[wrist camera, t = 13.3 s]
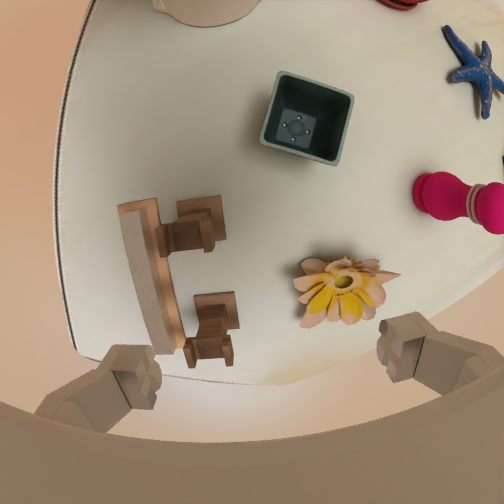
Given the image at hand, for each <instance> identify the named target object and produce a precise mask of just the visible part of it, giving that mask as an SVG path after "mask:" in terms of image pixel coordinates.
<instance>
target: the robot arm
mask: <svg viewBox="0 0 504 504" xmlns="http://www.w3.org/2000/svg"><path fill="white" fill-rule="evenodd" d="M259 1H260V0H153V3H152V6H153V8H154V10H156V11H159V12H164V13H168V14H170V15H171V16H173V17H174V18H175V19H176V20H178V21H180V22H182V23H185V24H188V25H192V26H201V27H209V26H218V25H223V24H227V23H230V22H233V21H235V20H237V19H239V18H241V17H243V16H245V15H246V14H248V13H249V12H250V11H251V10H252V9H253V8H254V7H255V6H256V4H257V3H258V2H259ZM379 331H380V333H381V334H382V335H381V336H380V338H379V339H378V340H377V355H378V359H379V361H380V362H381V364H382V365H385V366H387V371H386V372H387V374H388V375H389V377H390V379H391V380H392V382H393V383H396V382H400V381H403V380H407V379H410V378H413V377H414V379H415V380H417V381H418V382H420V383H422V384H424V385H425V386H427V387H429V388H431V389H432V390H434V391H436V392H437V393H439V394H441V395H443V396H441V397H439V398H437V399H434V400H432V401H429V402H427V403H424V404H422V405H419V406H416V407H414V408H411V409H408V410H405V411H402V412H399V413H396V414H393V415H390V416H387V417H383V418H380V419H377V420H373V421H369V422H366V423H362V424H358V425H354V426H350V427H345V428H341V429H336V430H331V431H326V432H321V433H316V434H310V435H304V436H297V437H291V438H282V439H273V440H262V441H248V442H228V443H227V442H225V443H196V442H194V443H193V442H173V441H160V440H150V439H141V438H133V437H126V436H120V435H114V434H107V433H106V432H107V431H109V430H110V429H111V428H112V427H113V426H114V425H115V424H116V423H117V422H118V421H120V420H121V419H122V418H123V417H124V416H125V415H126V414H127V413H129V412H130V411H131V409H146V410H152V409H153V407H154V404H155V401H156V398H157V396H156V394H155V392H156V391H157V390H158V389H160V386H161V383H162V373H161V369H160V366H159V364H158V363H157V362H156V361H155V360H154V357H155V352H154V349H153V347H152V346H150V345H125V344H115V345H112V347H111V348H110V349H109V351H108V352H107V354H106V356H105V357H104V359H103V360H102V362H101V363H100V365H99V366H98V368H97V369H96V370H95V369H93V370H91V371H89V372H87V373H86V374H84V375H82V376H80V377H78V378H77V379H75V380H73V381H71V382H70V383H68V384H66V385H64V386H62V387H60V388H59V389H57V390H55V391H53V392H51V393H50V394H48V395H46V397H45V398H44V400H43V401H42V403H41V404H40V406H39V407H38V409H37V410H36V411H35V413H34V414H31V413H29V412H26V411H23V410H21V409H18V408H16V407H13V406H11V405H8V404H6V403H3V402H1V401H0V504H504V357H503V356H502V355H501V354H500V353H499V352H498V351H497V350H496V349H495V348H494V347H493V346H490V345H486V344H483V343H480V342H477V341H473V340H470V339H467V338H463V337H460V336H457V335H454V334H450V333H447V332H444V331H441V332H439V331H438V330H437V329H436V328H435V327H434V326H433V325H432V324H431V323H429V321H428V320H426V319H425V318H424V317H423V316H422V315H421V314H420V313H419V312H416V311H415V312H412V313H408V314H405V315H402V316H398V317H394V318H389V319H385V320H381V322H380V326H379Z"/></svg>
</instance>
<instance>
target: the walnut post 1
mask: <svg viewBox="0 0 504 504" xmlns="http://www.w3.org/2000/svg"><path fill="white" fill-rule="evenodd" d="M176 203H177V210H178V216H179V218H178V219H177V220H175V221H174V222H172V223H167V224H161V225H160V226H158V227H157V228H155V234H156V239H157V244H158V250H159V254H160V258H164V257H168V256H169V255H170V254H171V253H172V252H177V251H185V250H193V249H201V248H204V253H206V252H212V251H213V249H214V247H215V241H219V240H226V232H225V225H224V217H223V210H222V203H221V195H219V196H212V197H205V198H198V199H191V200H184V201H178V202H176Z"/></svg>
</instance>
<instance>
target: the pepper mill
mask: <svg viewBox="0 0 504 504" xmlns="http://www.w3.org/2000/svg"><path fill="white" fill-rule="evenodd" d="M413 198H414V201H415V204H416V206H417V207H418V208H419V209H420V210H421V211H423V212H426V213H429V214H430V215H431V216H432V217H434V218H436V219H438V220H443V221H449V220H453V219H456V218H458V217H469V218H470V220H471V221H472V222H474V223H476V224H479V225H482V226H483V227H484V228H485V229H486V230H487V231H488V232H490V233H492V234H498V235H499V234H504V184H501V183H497V182H493V183H489V184H488V185H483V184H475V185H474V186H473V187H472V186H469V185H466V184H465V183H463V182H462V181H461V180H460V179H459V178H457V177H456V176H454V175H453V174H450V173H447V172H436V173H434V174H423V175H421V176H420V177H419V178H418V179H417V180H416V182H415V184H414V187H413Z"/></svg>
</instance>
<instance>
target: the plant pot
mask: <svg viewBox="0 0 504 504" xmlns="http://www.w3.org/2000/svg"><path fill="white" fill-rule="evenodd" d="M381 1H383V2H385V3H386V4H388V5H390V6H393V7H396V8H399V9H412V8H415V7H416V6H417V4H418V3H421V2H425V1H428V0H381Z"/></svg>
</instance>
